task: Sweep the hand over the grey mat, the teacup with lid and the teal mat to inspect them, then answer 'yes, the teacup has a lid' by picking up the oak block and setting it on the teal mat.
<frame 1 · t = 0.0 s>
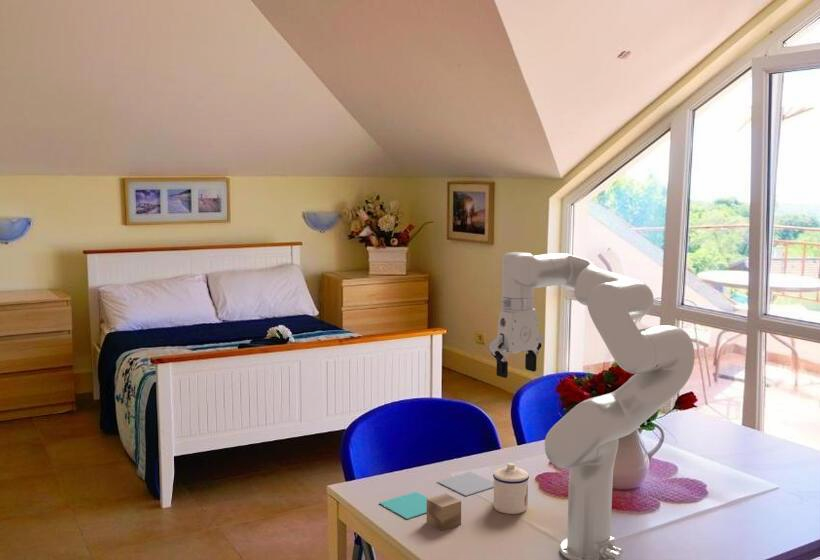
hand: (516, 373, 202), 37 cm above the table, tool pointing down, fingers open, 9 cm apart
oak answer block: (443, 523, 205), on the table
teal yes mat: (411, 505, 215), on the table
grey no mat: (468, 484, 229), on the table
teacup with lid: (508, 506, 215), on the table
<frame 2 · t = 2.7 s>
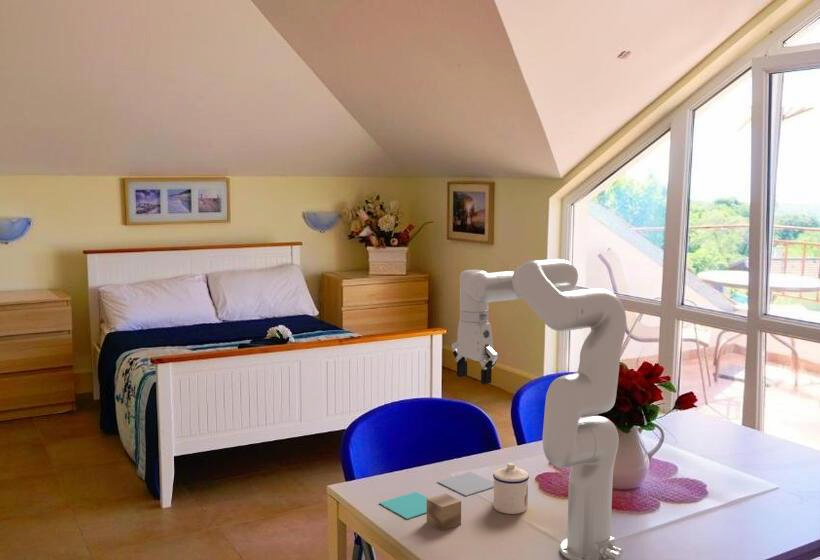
hand: (473, 379, 223), 30 cm above the table, tool pointing down, fingers open, 9 cm apart
nothing on the table moved.
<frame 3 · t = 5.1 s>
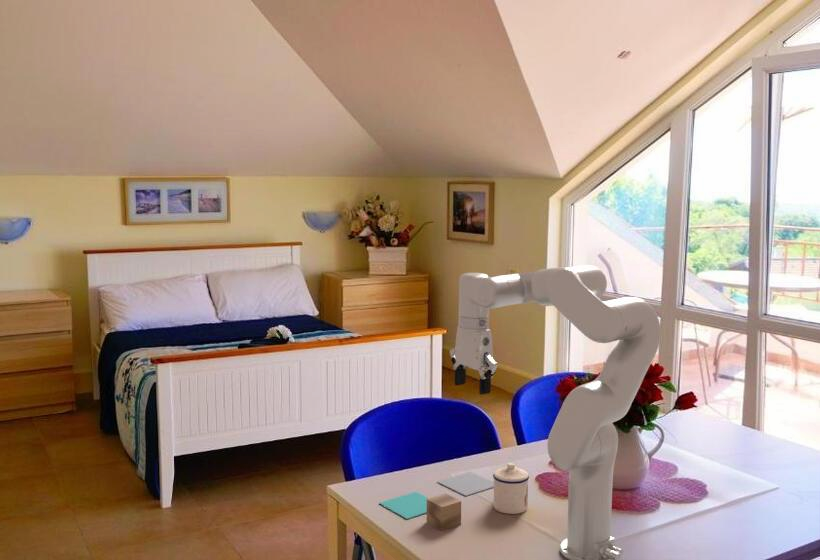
hand: (472, 388, 211), 31 cm above the table, tool pointing down, fingers open, 9 cm apart
nothing on the table moved.
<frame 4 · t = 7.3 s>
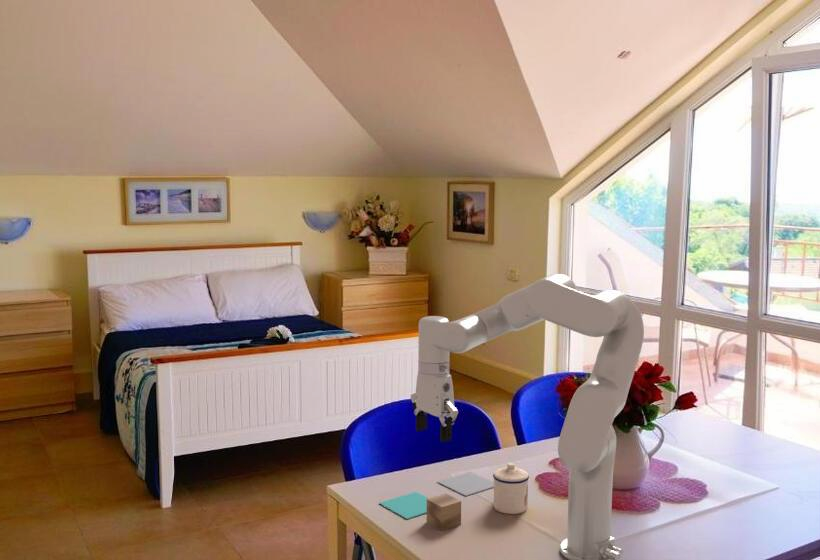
hand: (433, 435, 205), 21 cm above the table, tool pointing down, fingers open, 9 cm apart
nothing on the table moved.
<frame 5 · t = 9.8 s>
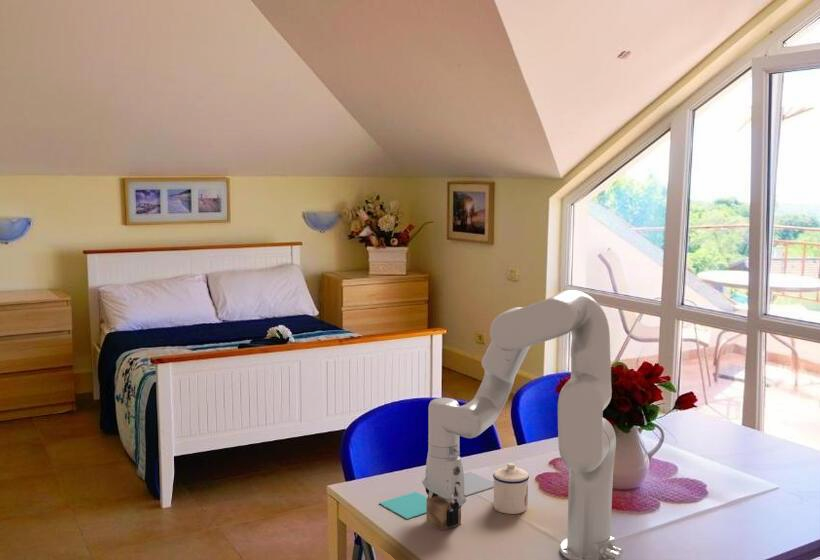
hand: (443, 519, 204), 1 cm above the table, tool pointing down, fingers closed on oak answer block, 6 cm apart
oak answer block: (443, 523, 204), on the table, touching gripper
everything else where it was.
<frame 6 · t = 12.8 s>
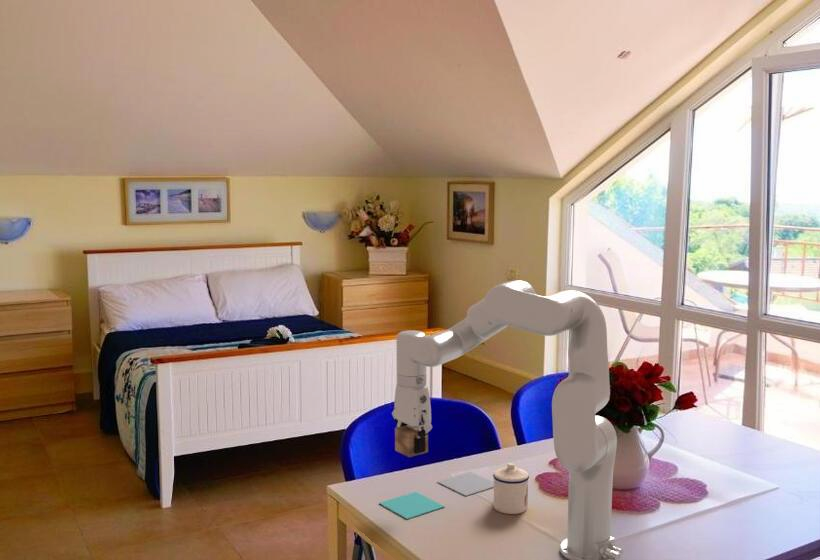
hand: (411, 448, 213), 15 cm above the table, tool pointing down, fingers closed on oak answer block, 6 cm apart
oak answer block: (411, 451, 213), point 15 cm above the table, touching gripper
everything else where it was.
when the fingers open (3 cm above the table, at t = 15.6 s): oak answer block drops 2 cm, resting on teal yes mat.
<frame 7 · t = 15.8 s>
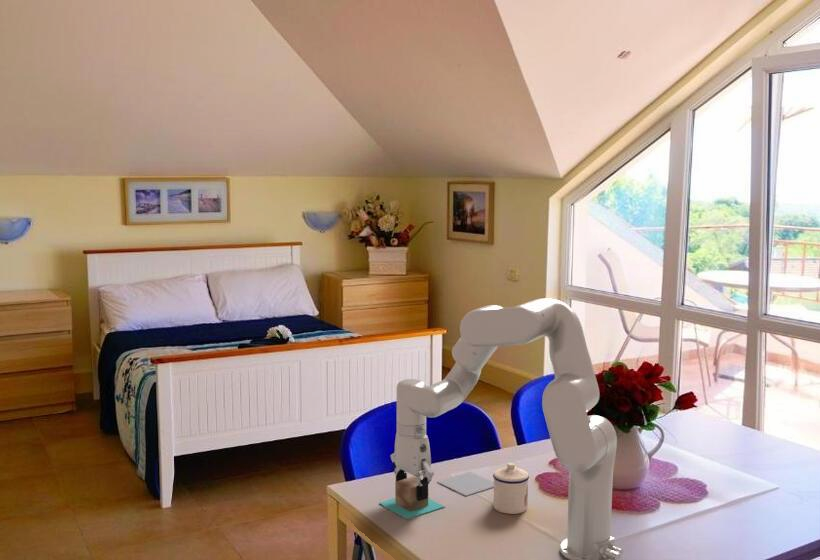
hand: (411, 493, 214), 3 cm above the table, tool pointing down, fingers open, 8 cm apart
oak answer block: (411, 504, 215), resting on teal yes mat
everything else where it was.
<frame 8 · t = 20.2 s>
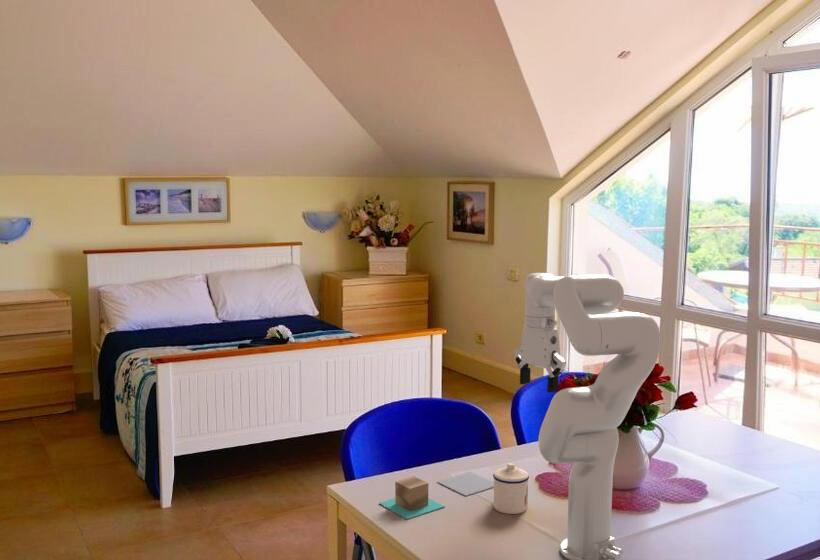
hand: (538, 387, 214), 30 cm above the table, tool pointing down, fingers open, 9 cm apart
nothing on the table moved.
at the end: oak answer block inside the target area on the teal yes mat (0.1 cm from its centre), point 0.3 cm above the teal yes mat's base; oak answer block tilted 0°; the gripper is holding nothing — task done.
